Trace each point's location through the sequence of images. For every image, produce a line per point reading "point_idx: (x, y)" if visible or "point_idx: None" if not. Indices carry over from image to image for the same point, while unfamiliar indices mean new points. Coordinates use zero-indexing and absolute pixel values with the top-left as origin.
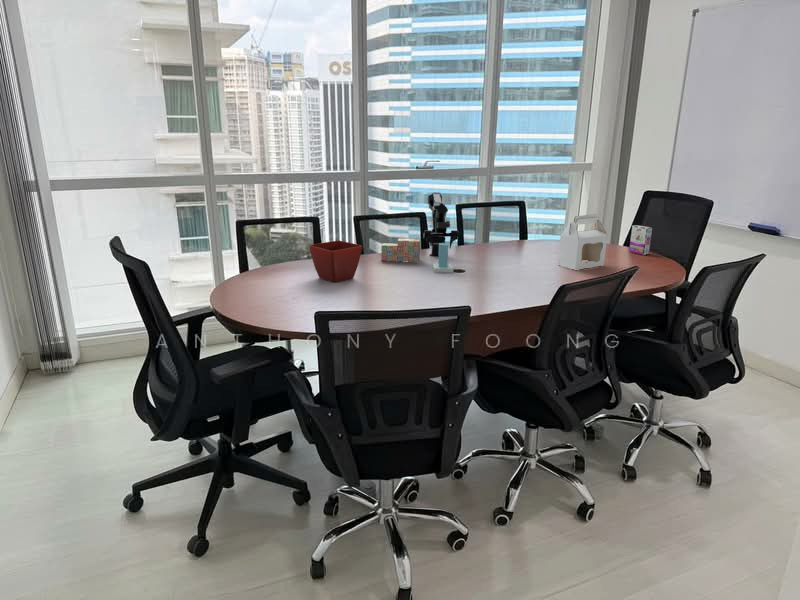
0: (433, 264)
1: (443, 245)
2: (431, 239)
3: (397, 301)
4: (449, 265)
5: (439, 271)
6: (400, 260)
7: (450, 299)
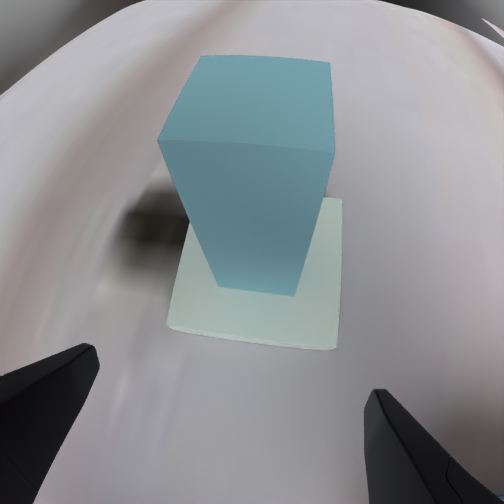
0: (332, 327)
1: (271, 63)
2: (464, 498)
3: (422, 24)
4: (197, 274)
5: None
6: (501, 499)
7: (306, 3)
